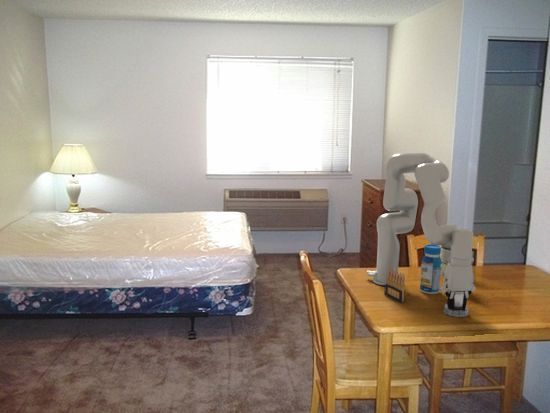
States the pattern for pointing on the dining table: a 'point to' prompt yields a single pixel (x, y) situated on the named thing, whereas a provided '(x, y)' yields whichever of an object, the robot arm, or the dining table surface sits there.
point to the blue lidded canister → (431, 269)
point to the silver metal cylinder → (458, 300)
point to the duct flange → (456, 312)
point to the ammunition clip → (395, 286)
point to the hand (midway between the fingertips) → (456, 306)
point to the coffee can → (445, 257)
